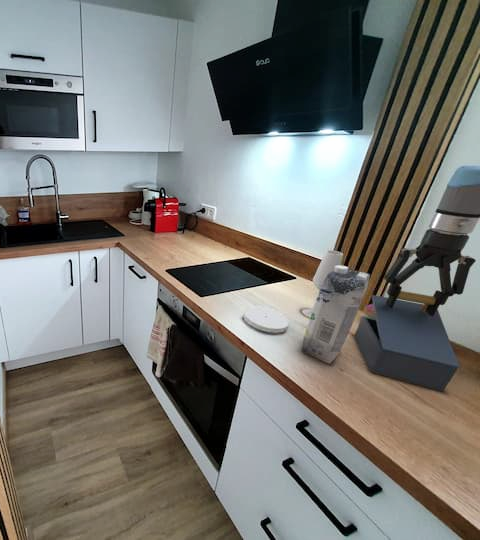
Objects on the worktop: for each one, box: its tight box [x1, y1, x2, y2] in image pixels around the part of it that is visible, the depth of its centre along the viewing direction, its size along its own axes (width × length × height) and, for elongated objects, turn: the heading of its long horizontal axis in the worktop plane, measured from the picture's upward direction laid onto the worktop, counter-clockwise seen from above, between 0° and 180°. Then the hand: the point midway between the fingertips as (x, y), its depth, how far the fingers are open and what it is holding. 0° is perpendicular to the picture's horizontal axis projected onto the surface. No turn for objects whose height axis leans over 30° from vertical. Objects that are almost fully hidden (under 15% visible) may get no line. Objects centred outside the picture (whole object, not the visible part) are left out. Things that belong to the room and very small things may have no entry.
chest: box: [354, 316, 458, 392], centre depth 81 cm, size 19×15×7 cm
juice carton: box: [301, 264, 371, 364], centre depth 79 cm, size 9×10×27 cm
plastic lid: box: [243, 305, 290, 334], centre depth 97 cm, size 14×14×2 cm
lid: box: [371, 290, 460, 369], centre depth 76 cm, size 20×15×6 cm
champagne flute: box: [301, 249, 344, 319], centre depth 99 cm, size 7×7×24 cm
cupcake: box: [363, 303, 376, 319], centre depth 97 cm, size 9×8×12 cm
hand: (408, 309), depth 80 cm, fingers closed on lid, 8 cm apart
